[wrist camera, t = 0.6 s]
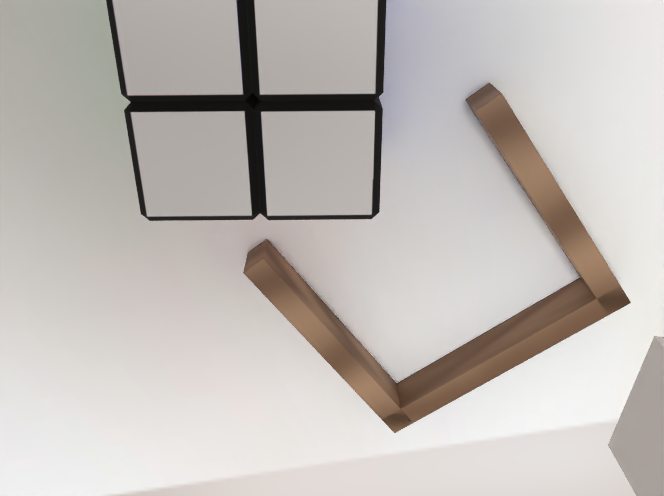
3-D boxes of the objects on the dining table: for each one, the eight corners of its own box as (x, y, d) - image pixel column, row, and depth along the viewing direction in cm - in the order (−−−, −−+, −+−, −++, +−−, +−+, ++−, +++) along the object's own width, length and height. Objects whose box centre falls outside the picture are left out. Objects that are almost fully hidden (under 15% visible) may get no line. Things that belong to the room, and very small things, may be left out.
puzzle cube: (365, 148, 34) (380, 222, 25) (188, 150, 34) (140, 224, 25) (369, -49, 29) (388, -45, 21) (164, -48, 29) (94, -42, 20)
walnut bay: (248, 252, 37) (243, 272, 35) (489, 82, 32) (501, 93, 30) (390, 407, 43) (394, 433, 40) (612, 281, 38) (630, 302, 36)
